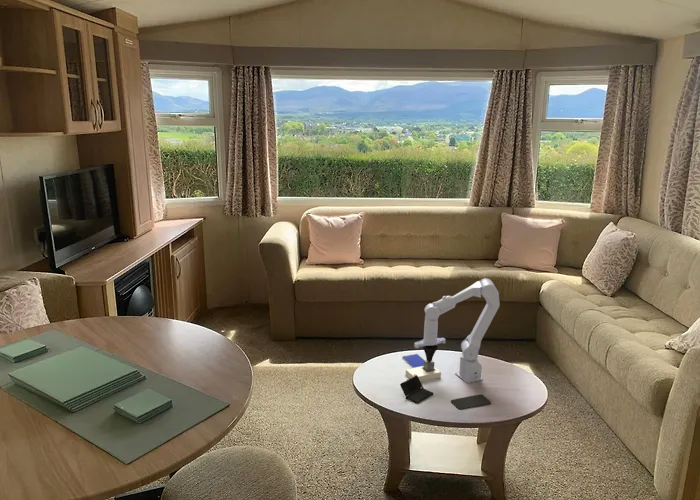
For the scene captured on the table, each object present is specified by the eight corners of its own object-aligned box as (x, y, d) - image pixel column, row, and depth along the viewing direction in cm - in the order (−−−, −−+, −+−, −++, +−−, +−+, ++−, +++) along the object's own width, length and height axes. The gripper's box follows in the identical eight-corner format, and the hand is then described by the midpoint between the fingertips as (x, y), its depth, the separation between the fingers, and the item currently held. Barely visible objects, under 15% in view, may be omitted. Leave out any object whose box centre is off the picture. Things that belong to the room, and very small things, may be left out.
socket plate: (440, 377, 236) (441, 371, 235) (414, 382, 231) (415, 376, 230) (430, 369, 243) (431, 363, 242) (405, 374, 238) (405, 368, 237)
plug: (433, 374, 238) (434, 362, 236) (427, 376, 236) (427, 363, 235) (429, 371, 241) (430, 359, 239) (422, 372, 239) (423, 360, 238)
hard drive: (402, 356, 254) (414, 367, 242) (417, 353, 257) (430, 364, 245) (402, 359, 254) (414, 370, 243) (417, 356, 257) (430, 368, 246)
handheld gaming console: (422, 402, 212) (410, 378, 215) (408, 408, 216) (397, 384, 219) (435, 394, 222) (424, 371, 224) (422, 400, 226) (411, 377, 228)
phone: (449, 400, 216) (481, 393, 221) (449, 401, 217) (481, 395, 222) (459, 409, 210) (492, 402, 215) (459, 411, 210) (492, 404, 215)
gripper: (439, 325, 240) (438, 354, 243) (411, 330, 234) (409, 359, 238) (448, 331, 234) (447, 360, 237) (419, 336, 228) (418, 366, 231)
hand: (429, 360), depth 237 cm, fingers closed
